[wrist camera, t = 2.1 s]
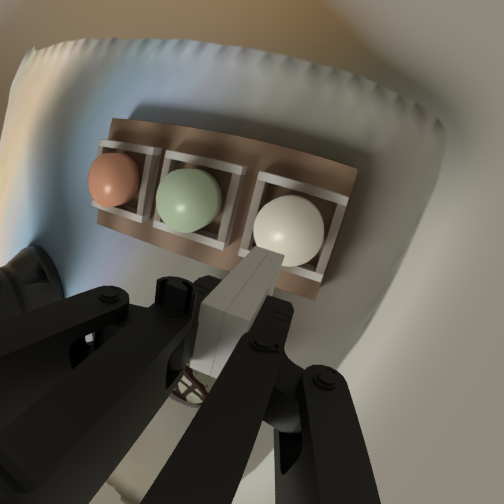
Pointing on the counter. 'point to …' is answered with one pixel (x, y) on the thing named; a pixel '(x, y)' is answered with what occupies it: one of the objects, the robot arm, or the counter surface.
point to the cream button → (290, 229)
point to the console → (226, 193)
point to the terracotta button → (113, 179)
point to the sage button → (188, 199)
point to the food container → (192, 388)
